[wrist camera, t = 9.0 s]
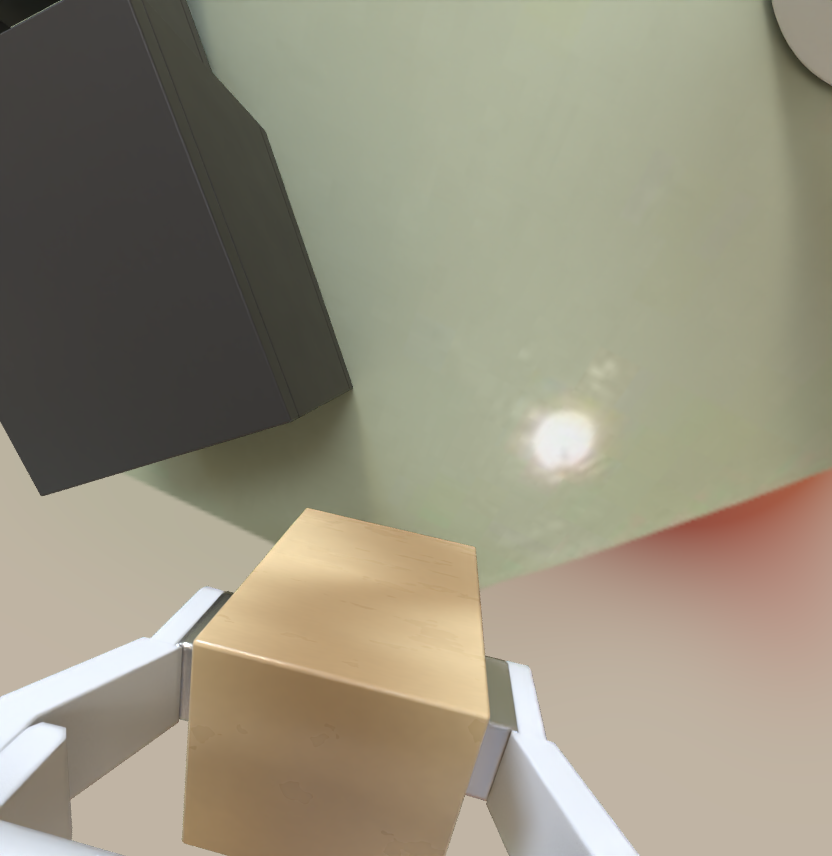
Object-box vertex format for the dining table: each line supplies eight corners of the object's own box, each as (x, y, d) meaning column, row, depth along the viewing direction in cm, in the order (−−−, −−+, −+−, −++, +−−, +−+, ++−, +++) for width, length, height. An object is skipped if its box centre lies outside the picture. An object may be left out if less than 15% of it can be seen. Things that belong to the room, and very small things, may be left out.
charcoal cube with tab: (86, 207, 24) (-165, 120, 15) (265, 130, 23) (117, -32, 13) (188, 438, 28) (40, 497, 18) (353, 387, 26) (291, 422, 16)
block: (476, 546, 10) (492, 717, 5) (439, 683, 11) (427, 915, 7) (306, 506, 10) (190, 640, 6) (287, 645, 11) (179, 844, 7)
